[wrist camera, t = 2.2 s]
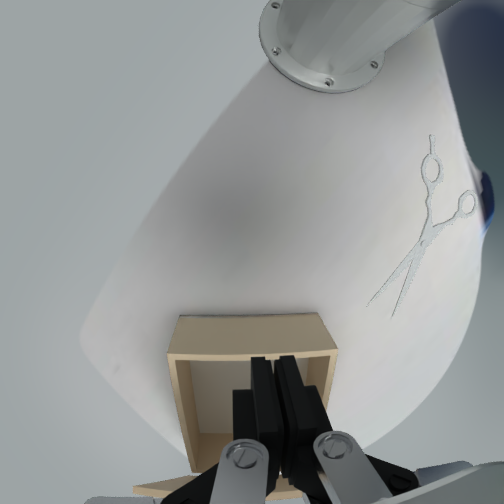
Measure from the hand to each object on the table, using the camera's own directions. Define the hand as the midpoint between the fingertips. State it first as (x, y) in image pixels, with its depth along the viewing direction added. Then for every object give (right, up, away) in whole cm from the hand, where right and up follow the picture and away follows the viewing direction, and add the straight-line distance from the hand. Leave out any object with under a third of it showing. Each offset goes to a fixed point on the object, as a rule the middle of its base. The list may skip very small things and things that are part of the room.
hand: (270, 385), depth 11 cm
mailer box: (-1, -10, +21) cm, 23 cm away
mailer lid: (0, -14, +9) cm, 17 cm away
